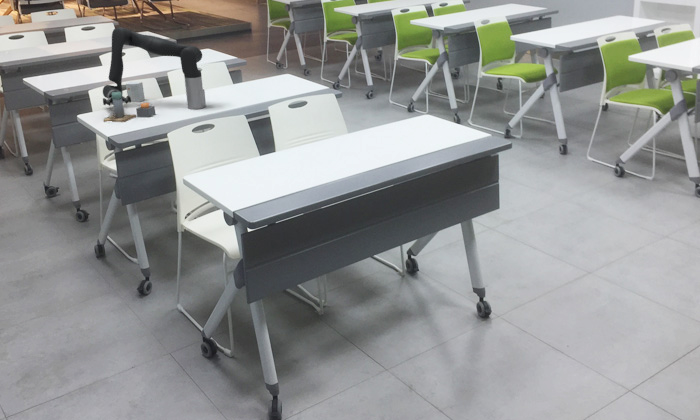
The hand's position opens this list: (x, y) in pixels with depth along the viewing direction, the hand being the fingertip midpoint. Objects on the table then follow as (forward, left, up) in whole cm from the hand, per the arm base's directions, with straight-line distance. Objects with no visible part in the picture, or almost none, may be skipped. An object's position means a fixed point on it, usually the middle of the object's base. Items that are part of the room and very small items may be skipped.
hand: (118, 102), depth 382 cm
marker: (+1, -2, -8) cm, 8 cm away
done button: (-9, -11, -6) cm, 15 cm away
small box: (+16, -47, -9) cm, 50 cm away
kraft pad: (+1, -2, -9) cm, 9 cm away
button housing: (-9, -11, -9) cm, 17 cm away
